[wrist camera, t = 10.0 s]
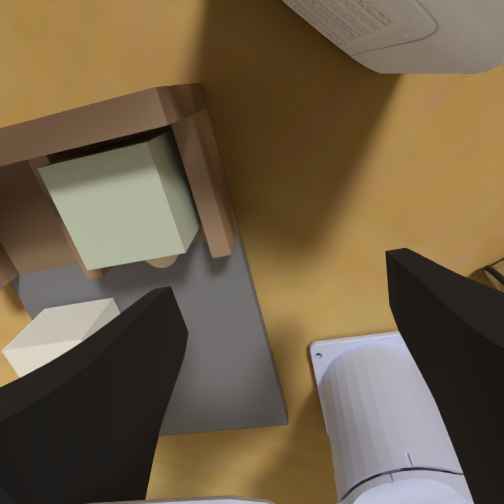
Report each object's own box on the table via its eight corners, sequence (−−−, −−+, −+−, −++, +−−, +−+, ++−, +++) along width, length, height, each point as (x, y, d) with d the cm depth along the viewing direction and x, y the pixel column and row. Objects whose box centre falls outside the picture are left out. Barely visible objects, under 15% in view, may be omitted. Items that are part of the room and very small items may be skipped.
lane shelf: (239, 228, 21) (220, 292, 15) (16, 269, 24) (-79, 339, 17) (200, 82, 18) (155, 86, 11) (-54, 149, 20) (-203, 182, 14)
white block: (169, 417, 27) (147, 485, 23) (111, 423, 28) (78, 489, 24) (113, 297, 23) (71, 352, 18) (44, 308, 23) (-12, 363, 19)
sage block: (211, 249, 20) (196, 286, 17) (132, 263, 21) (102, 301, 18) (174, 128, 18) (146, 141, 14) (84, 150, 18) (37, 168, 15)
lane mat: (288, 413, 28) (288, 424, 27) (110, 429, 30) (105, 440, 29) (239, 228, 21) (237, 234, 20) (16, 269, 24) (6, 277, 23)
